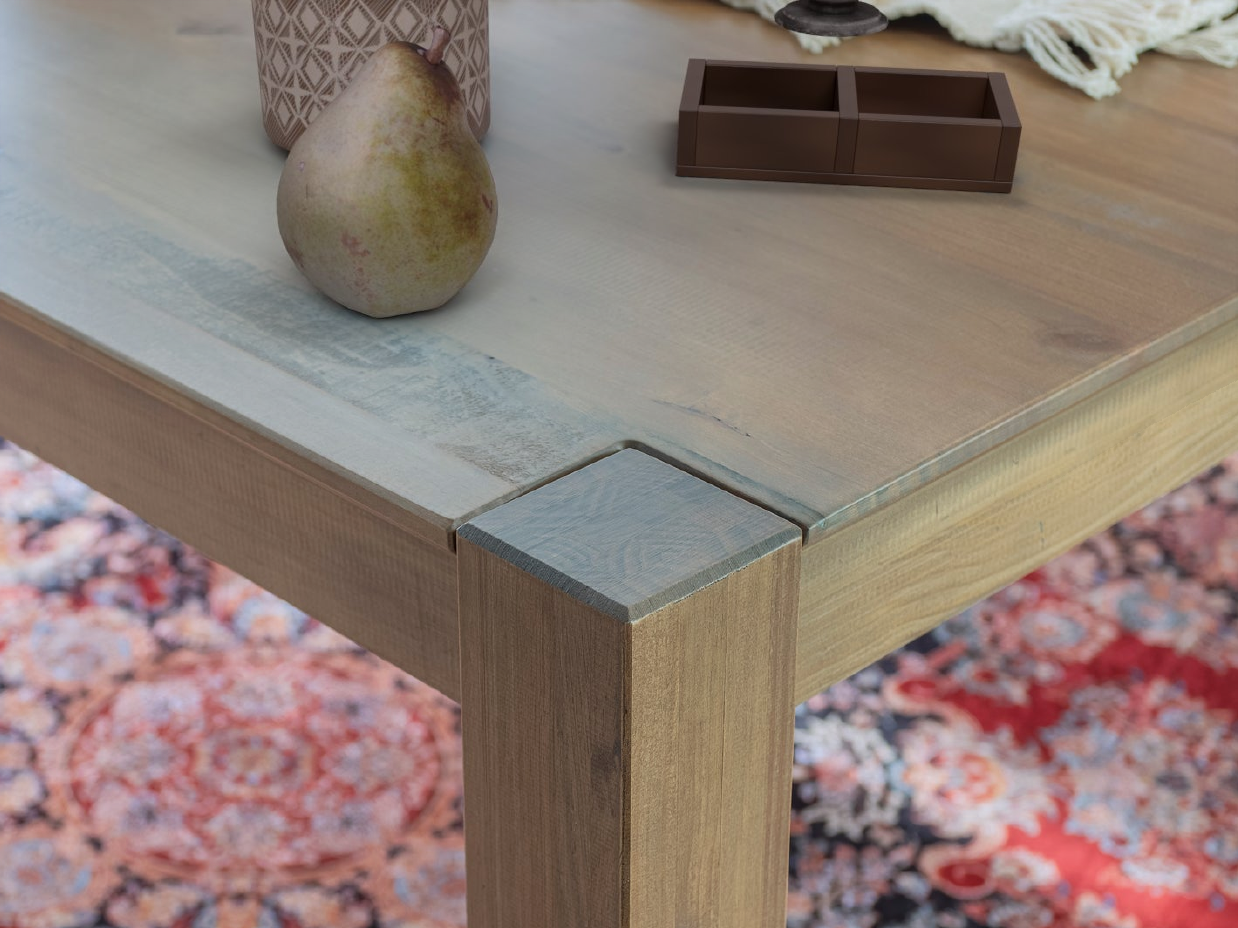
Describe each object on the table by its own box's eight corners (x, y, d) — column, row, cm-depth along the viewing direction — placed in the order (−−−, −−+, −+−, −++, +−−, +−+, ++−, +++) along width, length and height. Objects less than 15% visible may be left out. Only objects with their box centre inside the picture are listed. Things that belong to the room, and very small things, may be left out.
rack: (994, 135, 96) (1004, 72, 94) (1011, 193, 89) (1022, 126, 87) (685, 120, 98) (688, 58, 96) (675, 176, 90) (678, 109, 88)
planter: (520, 168, 91) (518, -32, 85) (291, 193, 87) (272, -13, 81) (454, 99, 100) (449, -85, 94) (246, 120, 97) (226, -70, 91)
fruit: (541, 306, 76) (541, 38, 69) (378, 367, 71) (359, 83, 64) (402, 242, 82) (389, -12, 75) (242, 293, 77) (212, 26, 70)
